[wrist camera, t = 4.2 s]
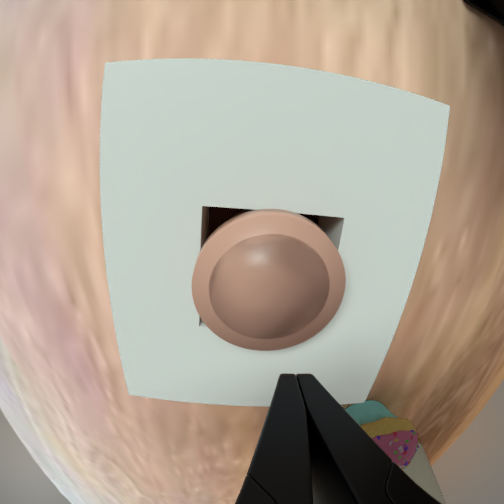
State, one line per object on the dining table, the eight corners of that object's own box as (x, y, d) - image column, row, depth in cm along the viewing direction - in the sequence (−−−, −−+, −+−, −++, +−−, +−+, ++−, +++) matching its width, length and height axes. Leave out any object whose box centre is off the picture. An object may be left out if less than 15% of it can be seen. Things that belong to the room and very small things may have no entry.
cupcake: (410, 411, 26) (454, 508, 15) (337, 450, 27) (360, 549, 16) (382, 369, 23) (438, 495, 12) (294, 418, 24) (314, 544, 13)
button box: (409, 105, 15) (449, 105, 11) (349, 363, 22) (364, 402, 18) (134, 73, 14) (104, 62, 10) (142, 353, 21) (129, 394, 17)
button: (332, 198, 16) (359, 224, 12) (312, 306, 18) (328, 351, 15) (204, 187, 15) (193, 210, 12) (200, 300, 18) (192, 346, 14)
